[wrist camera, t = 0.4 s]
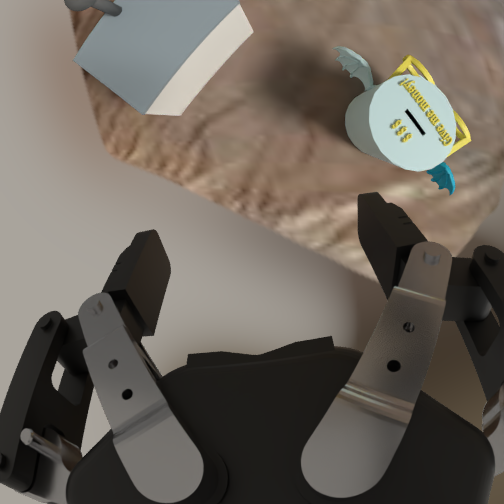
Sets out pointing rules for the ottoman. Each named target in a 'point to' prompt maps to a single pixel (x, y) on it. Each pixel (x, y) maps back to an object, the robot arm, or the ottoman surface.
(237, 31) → the carton
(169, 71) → the lid flap
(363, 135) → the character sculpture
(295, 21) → the ottoman surface
